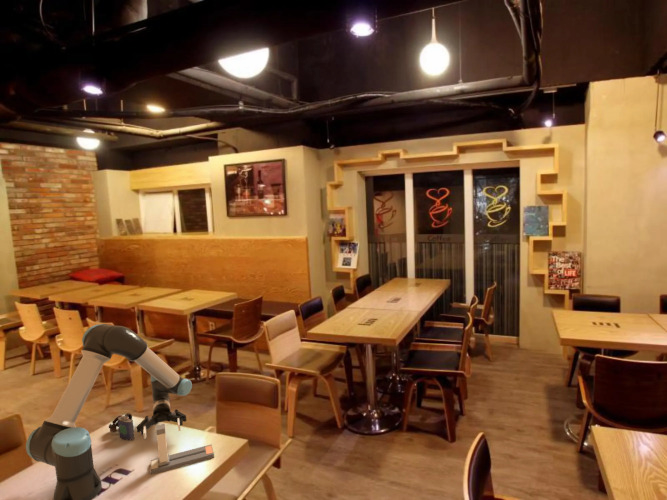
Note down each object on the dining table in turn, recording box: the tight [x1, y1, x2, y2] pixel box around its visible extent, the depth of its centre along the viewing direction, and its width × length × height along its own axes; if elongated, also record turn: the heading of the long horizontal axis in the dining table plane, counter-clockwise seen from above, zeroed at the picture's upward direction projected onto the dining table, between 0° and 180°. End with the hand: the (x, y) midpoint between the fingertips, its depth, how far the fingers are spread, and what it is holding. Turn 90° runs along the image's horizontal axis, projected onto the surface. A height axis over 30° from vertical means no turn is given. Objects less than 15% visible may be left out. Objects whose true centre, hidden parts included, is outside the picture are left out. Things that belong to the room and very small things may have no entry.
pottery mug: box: [108, 412, 135, 433], centre depth 199 cm, size 12×10×8 cm
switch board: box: [150, 443, 215, 475], centre depth 171 cm, size 24×8×2 cm, turn 113°
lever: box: [155, 423, 170, 466], centre depth 168 cm, size 4×6×14 cm
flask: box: [118, 415, 135, 442], centre depth 191 cm, size 9×3×11 cm, turn 61°
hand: (162, 432), depth 176 cm, fingers open, 13 cm apart
